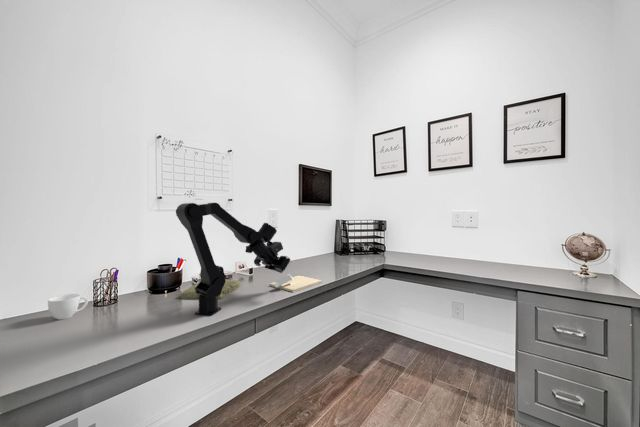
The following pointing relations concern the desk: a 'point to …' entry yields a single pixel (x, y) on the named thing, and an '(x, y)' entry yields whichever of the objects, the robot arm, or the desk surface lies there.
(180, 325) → the desk surface
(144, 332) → the desk surface
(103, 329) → the desk surface
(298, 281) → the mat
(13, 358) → the desk surface
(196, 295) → the olive green cushion
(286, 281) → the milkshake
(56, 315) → the cup
